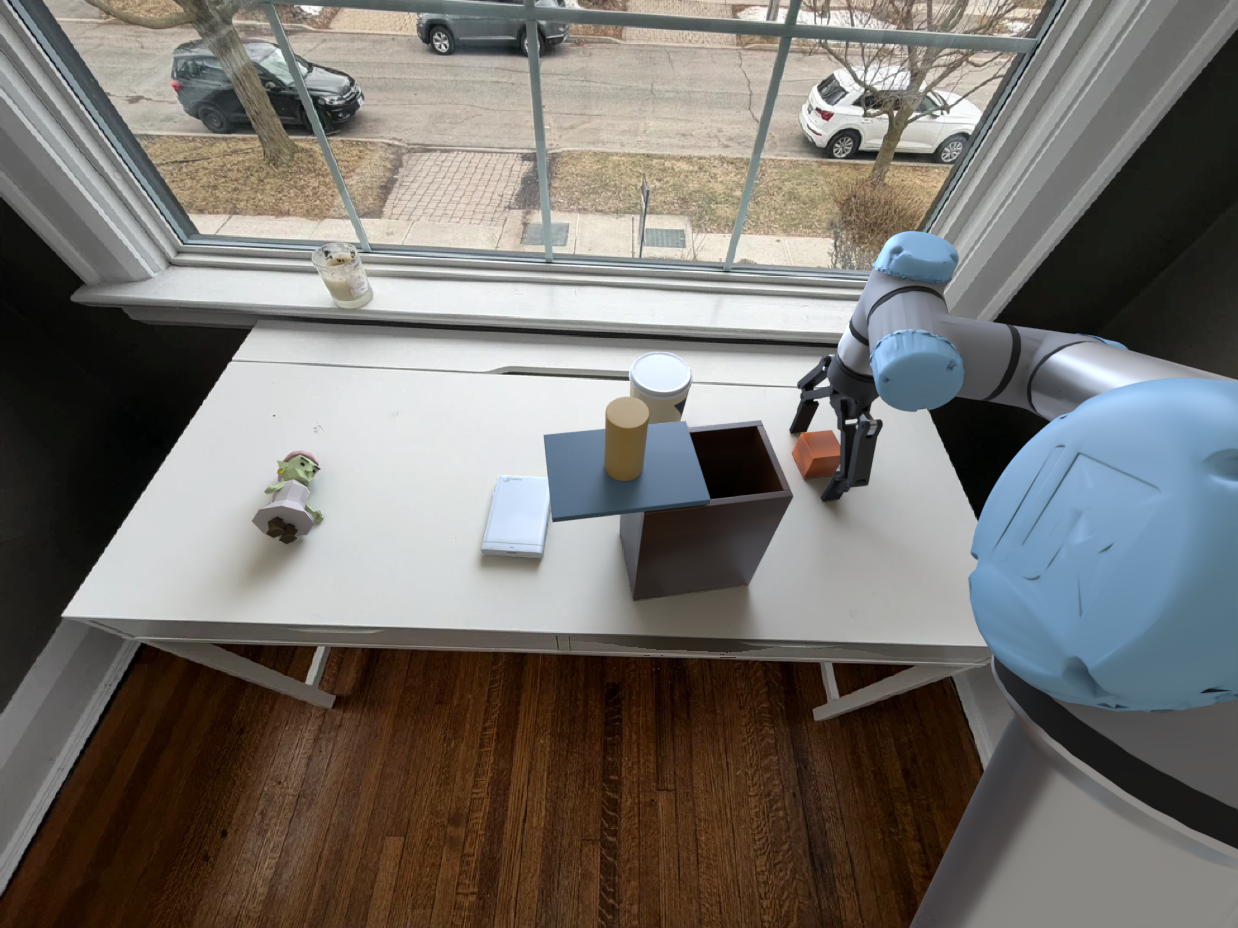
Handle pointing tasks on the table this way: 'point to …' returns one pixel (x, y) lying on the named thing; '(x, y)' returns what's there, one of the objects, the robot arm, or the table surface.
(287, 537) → the figurine
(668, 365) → the coffee cup
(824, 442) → the block
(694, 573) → the box
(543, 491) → the hard drive
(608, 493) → the sliding lid
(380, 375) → the table surface
